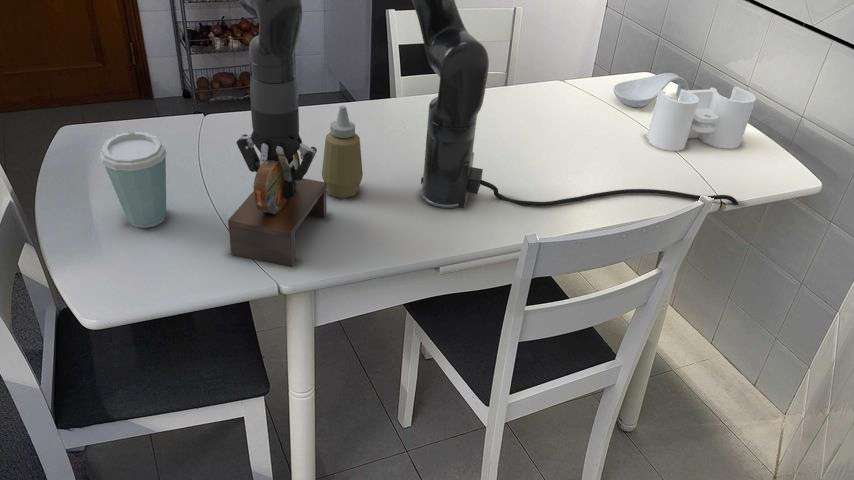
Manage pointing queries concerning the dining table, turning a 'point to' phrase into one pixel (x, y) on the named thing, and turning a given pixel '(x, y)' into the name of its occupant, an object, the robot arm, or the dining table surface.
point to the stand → (275, 224)
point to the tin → (271, 186)
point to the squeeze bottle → (342, 157)
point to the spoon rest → (646, 89)
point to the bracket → (700, 118)
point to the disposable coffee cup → (137, 176)
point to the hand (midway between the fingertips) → (279, 195)
